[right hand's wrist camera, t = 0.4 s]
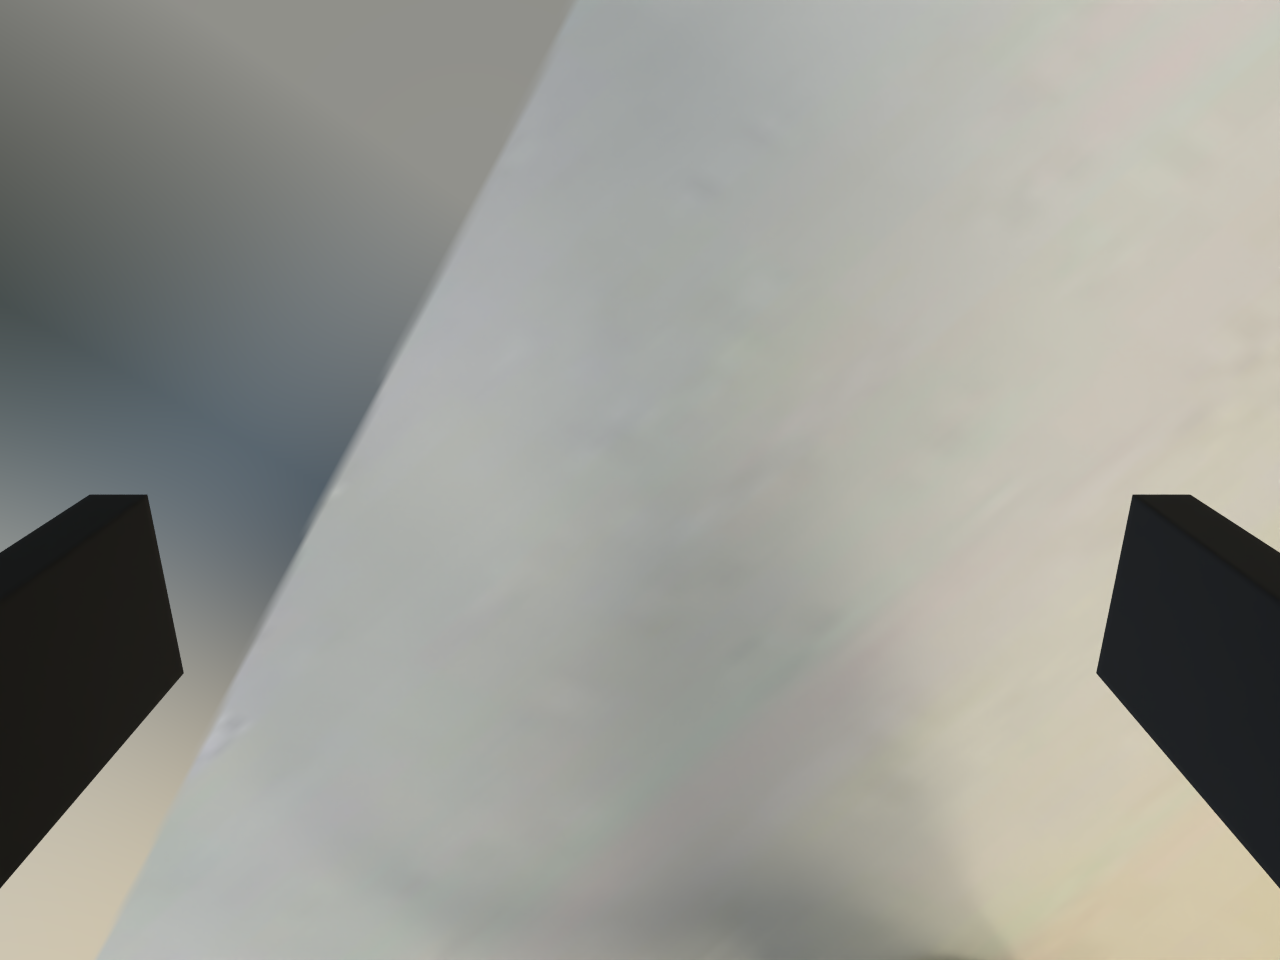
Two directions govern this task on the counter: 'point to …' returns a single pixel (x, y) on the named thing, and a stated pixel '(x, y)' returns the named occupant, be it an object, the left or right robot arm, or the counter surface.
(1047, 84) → the counter surface
